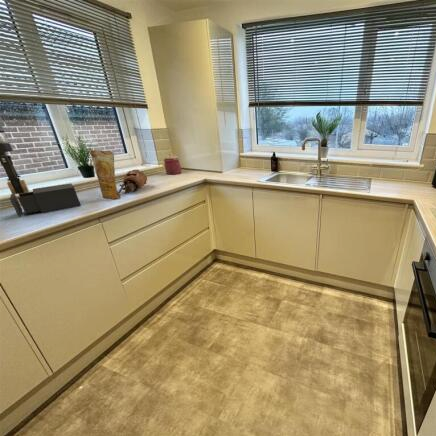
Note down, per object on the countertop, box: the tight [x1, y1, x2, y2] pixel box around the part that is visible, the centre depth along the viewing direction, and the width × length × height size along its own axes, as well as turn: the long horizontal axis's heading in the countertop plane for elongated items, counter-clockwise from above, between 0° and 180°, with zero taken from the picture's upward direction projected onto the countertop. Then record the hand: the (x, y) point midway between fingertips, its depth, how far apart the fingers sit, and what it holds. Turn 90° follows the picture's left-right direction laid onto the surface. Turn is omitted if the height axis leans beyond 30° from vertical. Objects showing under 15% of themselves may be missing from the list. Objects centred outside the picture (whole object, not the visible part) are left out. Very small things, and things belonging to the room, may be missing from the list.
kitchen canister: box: [162, 152, 182, 176], centre depth 211 cm, size 13×13×18 cm
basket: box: [0, 191, 41, 217], centre depth 123 cm, size 21×13×9 cm, turn 136°
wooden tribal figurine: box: [118, 169, 148, 195], centre depth 162 cm, size 15×15×25 cm
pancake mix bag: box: [89, 149, 121, 200], centre depth 143 cm, size 7×19×28 cm, turn 64°
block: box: [6, 179, 30, 195], centre depth 117 cm, size 6×6×6 cm
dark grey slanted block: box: [32, 182, 82, 214], centre depth 131 cm, size 16×14×11 cm
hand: (20, 191), depth 118 cm, fingers closed on block, 5 cm apart
